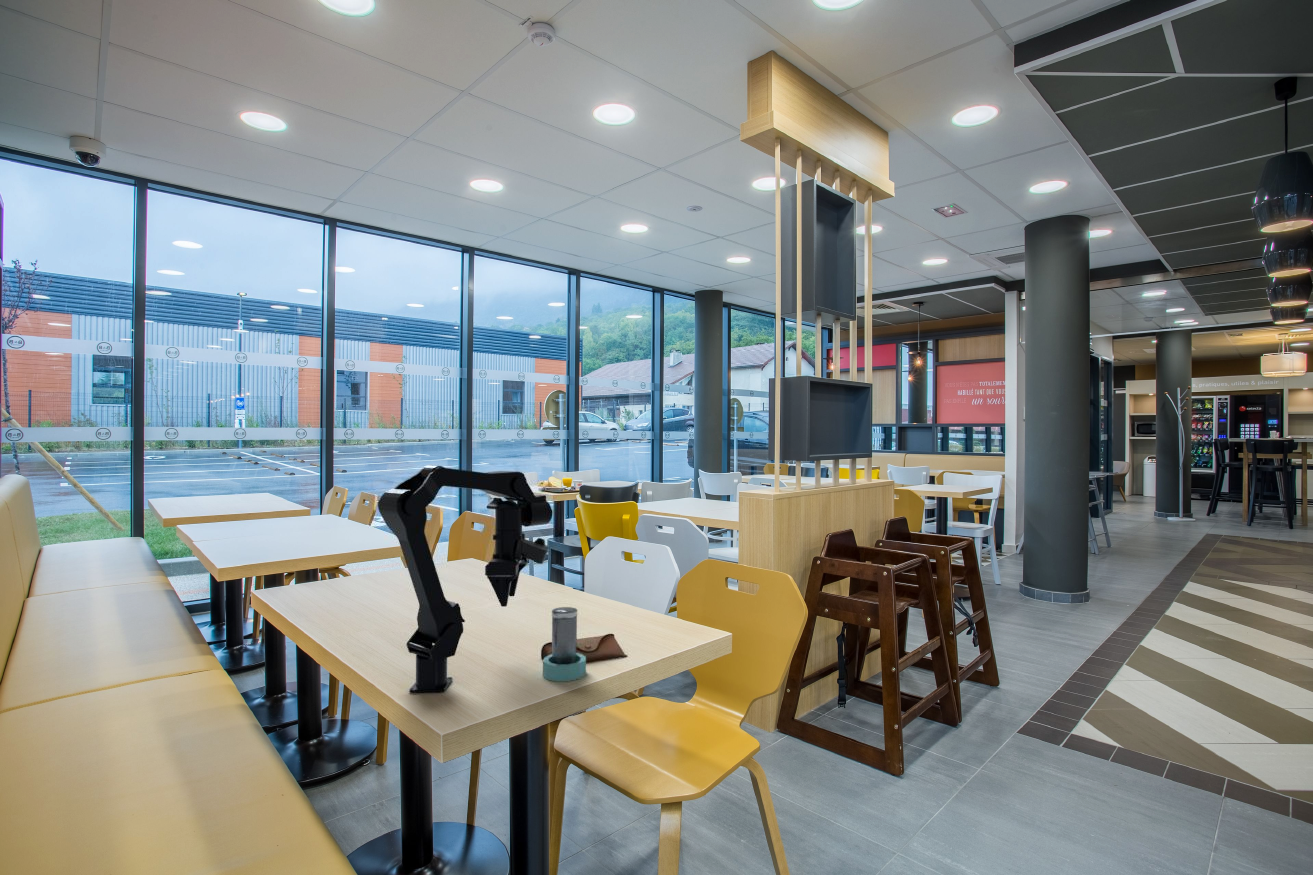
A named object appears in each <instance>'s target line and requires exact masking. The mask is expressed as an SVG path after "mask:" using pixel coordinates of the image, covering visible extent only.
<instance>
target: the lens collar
mask: <svg viewBox="0 0 1313 875" xmlns="http://www.w3.org/2000/svg"><path fill="white" fill-rule="evenodd" d="M586 672H587V663H586V657H585V656H583V655H582V654H578V653H577V662H576V663H572V664H553V663H552V654H551V655H549V656H547V657H544V660H542V677H543V678H544V679H546V680H548V681H552V682H556V681H557V682H571V680H572V681H575V680H576V679H577V680H580V679H582V678H583V677H585V676H586ZM584 675H585V676H584ZM579 678H580V679H579Z"/></svg>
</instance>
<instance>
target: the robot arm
mask: <svg viewBox="0 0 1313 875" xmlns="http://www.w3.org/2000/svg"><path fill="white" fill-rule="evenodd" d="M443 487H447V488H448V487H450V488H458V489H468V490H479V491H482V492H484V493H486V494H488V495H492V496H495V497H494V498H493V499H492V501H490V502H489V503H488V504H487V505H486V509H488V510H495V512H494V513H495V515H494V516H495V517H494V518H495V520H494V525H495V526H494V527H495V528H494V534H493V535H492V540H493V541H494V553H493V554H492V559H491V560H489V562H488V563H486V565H485V567H484V575H485V576H486V577H487V579H488V581H489V583H490V585H491V587H492V589H493V590H494V591H493V592H494V594H495V595H496V597H497V600H498V602H499V604H500V606H501V607H505V608H506V607H507V606H508V601H509V597H514V596H515V594H516V591H517V587H518V582H519V579H520V578H519V577H520V574H521V573H520V572H521V571H522V570H523V569H524V568H525V567H526V566H527V565H528V562H529V560H530V561H533V562H535V564H539V565H542V564H544V562H545V559H546V557H547V554H548V552H549V549H550V548H549V546H548V545H546V540H545V539H543V538H541V537H538V538H537V539H536V540H534V541H533V540H529V539H526V534H525V532H523V527H525V528H527V527H534V526H535V527H537V526H543V525H544V526H545V525H548V524H549V523H550V522H551V521H552V519H553V509H552V506H551V504H550V503H549V501H547V495H543V494H538V495H537V494H536V495H535V494H534V492H533V490H532V488H531V487H530V484H528V481H527V478H526V475H525V473H523V472H521V471H513V470H511V471H509V470H497V471H487V472H480V471H473V470H467V469H466V470H465V469H459V468H451V467H450V468H448V467H444V466H442V465H425V466H424V467H423V468H421V469H420V470H419V471H417V472H416V473H415V474H413V475H412V476H410V477H409V478H407V479H405V480H403V481H402V482H401V483H399V484H398V485H396V486H395V487H394V488H392V489H388V490H386V491H384V492H383V493H382V494H381V497H380V498H379V500H378V502H377V507H378V512H379V514H380V516H381V517H382V519H383V521H384V524H385V525H386V526H387V528H388V529H389V530H390V531H391V532H392V533H393V534H394V536H395V537H397V538H396V539H397V540H398V544H399V546H400V549H401V552H402V555H403V558H404V561H405V564H406V567H407V571H408V574H409V577H410V580H411V584H412V587H413V589H414V593H415V594H416V599H417V601H418V611H417V616H416V621H417V629H416V630H415V632H414V633H413V634H412V635H411V637H410V638H408V639H409V640H408V641H407V642H406V648H407V650H408V651H407V652H408V653H410V654H414V655H415V682H414V683H413V685H411V687H409V689H408V690H409V691H408V692H409V693H439V692H440V693H443V692H445V691H446V690H447V688H448V686H449V685H450V684H451V683H452V682H453V677H452V676H451V677H450V676H449V677H448V658H452V657H454V656H455V655H456V653H457V648H458V645H459V642H460V639H461V636H462V634H463V633H464V623H465V622H466V620H465V619H464V618H463V616H462V612H461V606H460V604H459V603H458V602H455V601H450V600H447V599H446V597H445V594H444V589H443V588H442V585H441V581H440V577H439V574H438V571H437V567H436V564H435V561H434V559H433V556H432V552H431V549H430V546H429V542H428V538H427V536H426V533H425V532H426V531H425V529H426V525H427V521H428V520H427V519H428V513H427V507H428V506H429V505H430V504H431V503H432V502H433V501H434V500H435V499H436V497H437V495H438V493H439V491H440V489H442V488H443ZM502 498H503V499H505V500H503V499H502Z"/></svg>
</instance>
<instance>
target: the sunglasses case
mask: <svg viewBox="0 0 1313 875" xmlns="http://www.w3.org/2000/svg"><path fill="white" fill-rule="evenodd" d="M577 653H578V654H582V655H583V656H585V657H586V664H589V663H594V661H595V662H599V661H600V660H601V661H607V660H613V659H612V658H614V659H620V658H619V657H622V658H627V657H628V654H625V653H624V651H623V649H622V648H621V646H620V644H619V643H618V641H617V639H616V638H615V634H614V633H607V634H604V635H597V636H592V637H591V636H590V637H583V638H582V637H581V638H577ZM551 654H552V641H549V642H547V643H544V645H542V647H541V650H540V658H541V660H542V661H543V660H544V657H547V656H549V655H551Z"/></svg>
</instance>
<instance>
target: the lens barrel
mask: <svg viewBox="0 0 1313 875" xmlns="http://www.w3.org/2000/svg"><path fill="white" fill-rule="evenodd" d="M551 619H552V620H551V621H552V622H551V624H552V625H551V626H552V627H551V636H552V637H551V642H552V663H553V664H572V663H576V662H577V639H578V634H577V632H578V628H577V627H578V622H577V621H578V609H577V608H576V607H571V606H561V607H555V608H553V609H552V610H551Z"/></svg>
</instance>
